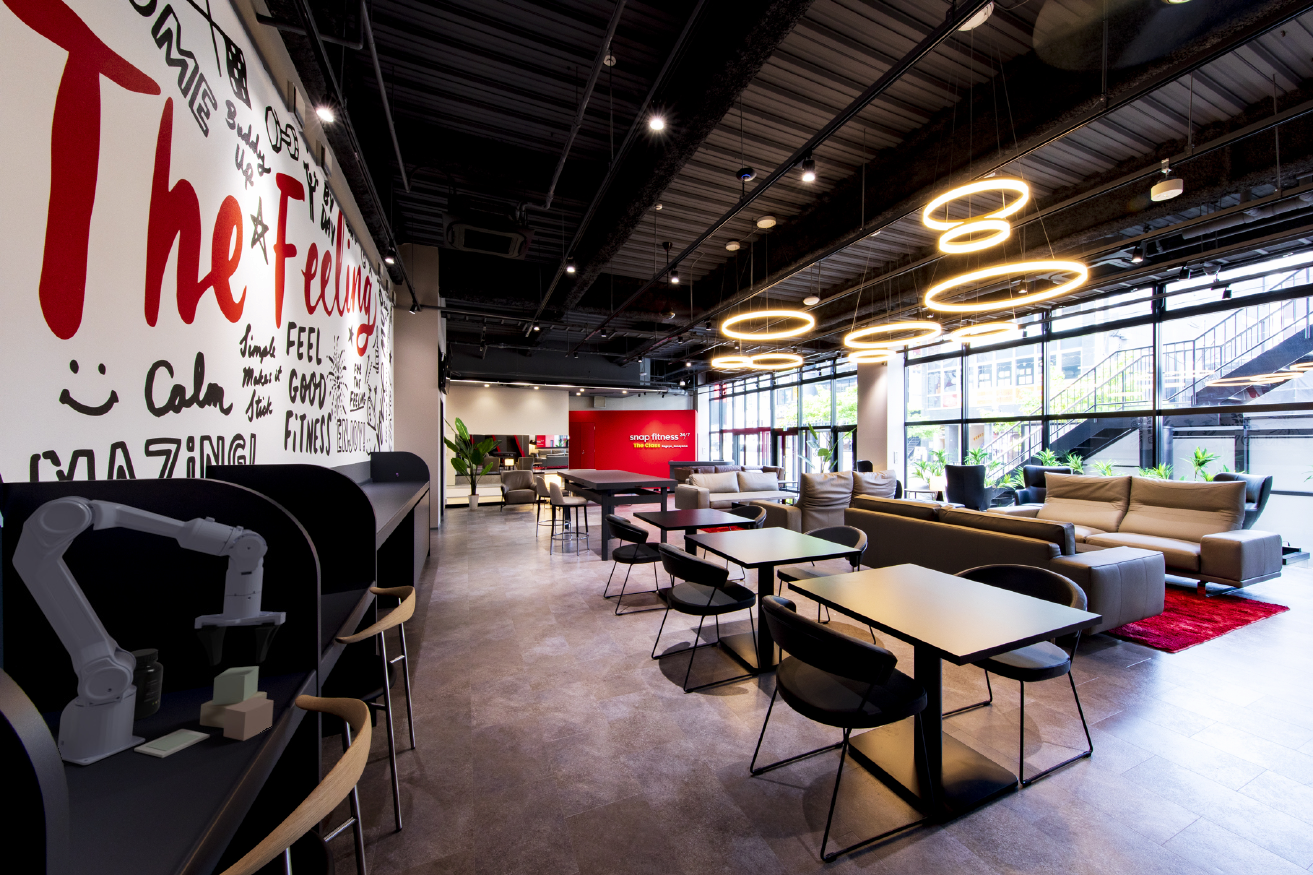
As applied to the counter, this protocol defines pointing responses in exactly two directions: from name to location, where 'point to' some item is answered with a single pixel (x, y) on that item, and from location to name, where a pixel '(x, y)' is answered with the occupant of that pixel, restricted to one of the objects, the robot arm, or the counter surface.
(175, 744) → the card
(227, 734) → the terracotta block
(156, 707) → the supplement bottle
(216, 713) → the maple block
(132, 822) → the counter surface
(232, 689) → the sage block
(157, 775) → the counter surface
